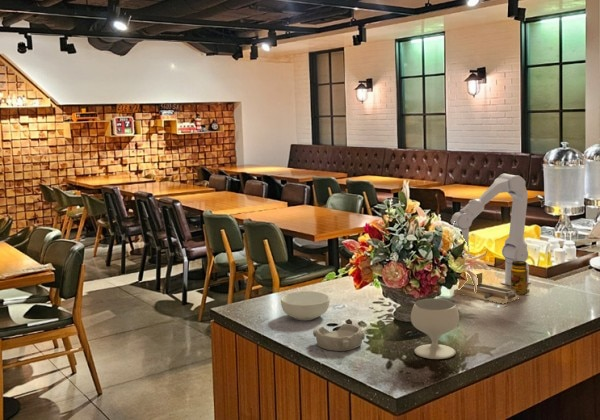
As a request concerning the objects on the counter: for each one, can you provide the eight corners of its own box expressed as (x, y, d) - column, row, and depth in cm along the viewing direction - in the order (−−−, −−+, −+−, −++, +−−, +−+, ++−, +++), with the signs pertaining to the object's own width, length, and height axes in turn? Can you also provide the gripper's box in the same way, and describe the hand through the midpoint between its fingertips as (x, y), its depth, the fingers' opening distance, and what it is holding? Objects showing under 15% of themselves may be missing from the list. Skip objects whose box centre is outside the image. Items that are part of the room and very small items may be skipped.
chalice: (401, 349, 213) (401, 301, 210) (440, 341, 219) (440, 294, 216) (429, 364, 200) (429, 313, 198) (468, 356, 206) (469, 306, 204)
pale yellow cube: (471, 283, 275) (471, 270, 274) (482, 286, 271) (482, 272, 270) (463, 286, 272) (463, 272, 271) (474, 288, 268) (474, 274, 267)
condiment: (508, 294, 268) (509, 263, 266) (510, 288, 276) (510, 258, 274) (528, 295, 266) (529, 264, 264) (529, 289, 274) (530, 259, 272)
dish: (308, 344, 221) (307, 328, 220) (342, 334, 229) (342, 319, 228) (336, 357, 209) (336, 340, 208) (372, 346, 217) (372, 330, 216)
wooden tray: (471, 287, 279) (471, 278, 279) (520, 298, 263) (520, 288, 262) (452, 293, 272) (452, 284, 271) (502, 304, 255) (502, 295, 255)
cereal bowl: (274, 322, 243) (273, 302, 242) (291, 308, 258) (290, 289, 257) (321, 326, 237) (320, 306, 236) (335, 312, 253) (335, 292, 251)
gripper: (439, 242, 276) (439, 276, 278) (470, 247, 265) (469, 282, 267) (450, 239, 281) (450, 273, 283) (481, 244, 270) (481, 279, 272)
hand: (460, 277), depth 275 cm, fingers closed
